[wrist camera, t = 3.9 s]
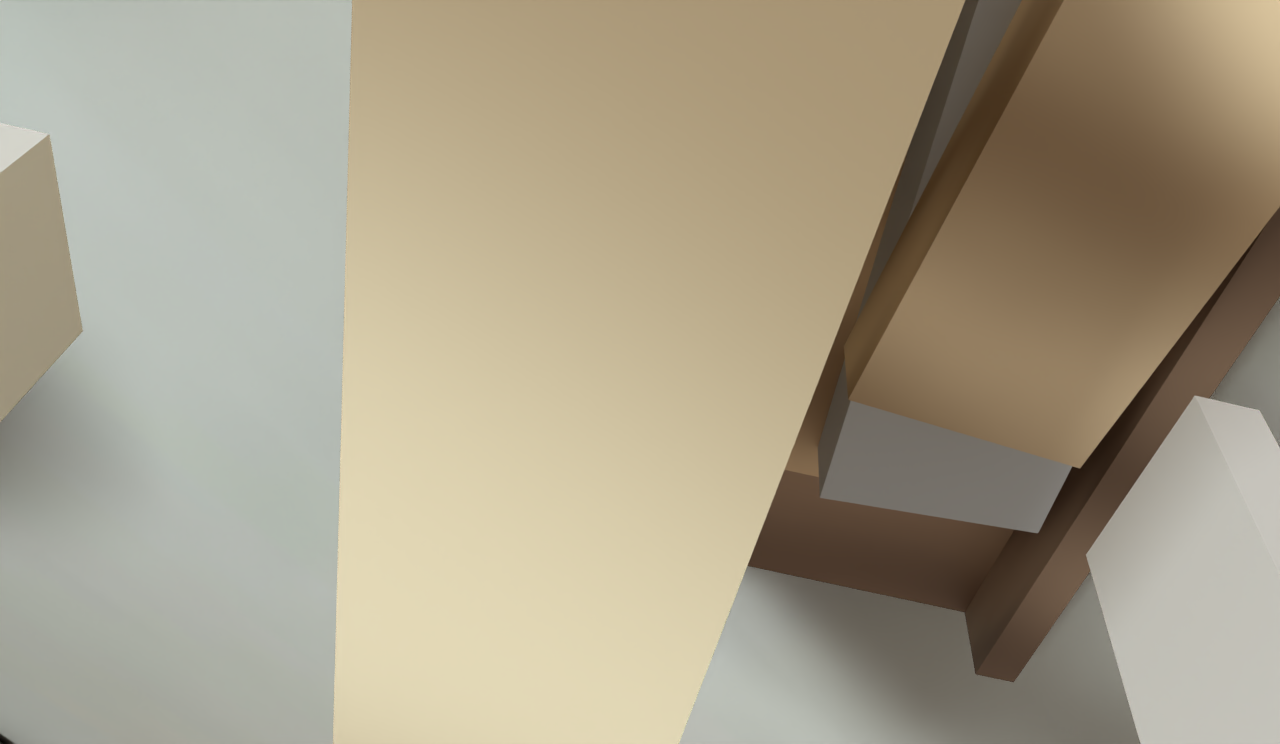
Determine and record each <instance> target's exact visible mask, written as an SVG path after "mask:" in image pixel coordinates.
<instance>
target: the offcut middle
mask: <svg viewBox="0 0 1280 744" xmlns="http://www.w3.org/2000/svg"><path fill="white" fill-rule="evenodd" d="M1021 1H1022V0H965V2H964V5H963V8H962V10H961V13H960V15H959V18H958V21H957V23H956V26H955V28H954V31H953V34H952V36H951V39H950V41H949V44H948V47H947V49H946V52H945V54H944V57H943V60H942V62H941V65H940V67H939V70H938V73H937V75H936V78H935V80H934V83H933V85H932V88H931V91H930V93H929V96H928V98H927V101H926V104H925V106H924V109H923V111H922V114H921V117H920V119H919V122H918V124H917V127H916V130H915V132H914V135H913V137H912V140H911V143H910V146H909V149H908V153H907V156H906V159H905V162H904V166H903V169H902V172H901V176H900V179H899V182H898V185H897V189H896V192H895V195H894V199H893V202H892V205H891V208H890V212H889V215H888V218H887V221H886V225H885V228H884V231H883V235H882V238H881V241H880V244H879V248H878V251H877V254H876V258H875V261H874V264H873V267H872V271H871V274H870V277H869V280H868V284H867V287H866V290H865V294H864V297H863V300H862V303H861V307H860V310H859V313H858V317H857V319H858V318H859V316H860V314H861V312H862V310H863V308H864V306H865V304H866V302H867V300H868V298H869V296H870V294H871V292H872V290H873V288H874V286H875V284H876V283H877V281H878V279H879V277H880V275H881V273H882V271H883V269H884V267H885V265H886V263H887V261H888V259H889V257H890V255H891V253H892V251H893V250H894V248H895V246H896V244H897V242H898V240H899V238H900V236H901V234H902V232H903V230H904V228H905V226H906V224H907V222H908V220H909V218H910V217H911V215H912V213H913V211H914V209H915V207H916V205H917V203H918V201H919V199H920V197H921V195H922V193H923V191H924V189H925V187H926V185H927V184H928V182H929V180H930V178H931V176H932V174H933V172H934V170H935V168H936V166H937V164H938V162H939V160H940V158H941V156H942V154H943V152H944V151H945V149H946V147H947V145H948V143H949V141H950V139H951V137H952V135H953V133H954V131H955V129H956V127H957V125H958V123H959V121H960V119H961V118H962V116H963V114H964V112H965V110H966V108H967V106H968V104H969V102H970V100H971V98H972V96H973V94H974V92H975V90H976V88H977V86H978V84H979V83H980V81H981V79H982V77H983V75H984V73H985V71H986V69H987V67H988V65H989V63H990V61H991V59H992V57H993V55H994V53H995V51H996V50H997V48H998V46H999V44H1000V42H1001V40H1002V38H1003V36H1004V34H1005V32H1006V30H1007V28H1008V26H1009V24H1010V22H1011V20H1012V18H1013V17H1014V15H1015V13H1016V11H1017V9H1018V7H1019V5H1020V3H1021ZM856 321H857V320H856ZM818 467H819V491H820V498H824V499H830V500H836V501H843V502H849V503H855V504H861V505H867V506H873V507H879V508H885V509H892V510H898V511H904V512H910V513H916V514H922V515H928V516H934V517H941V518H947V519H953V520H959V521H965V522H971V523H977V524H983V525H990V526H996V527H1002V528H1008V529H1014V530H1020V531H1026V532H1032V533H1038V532H1039V531H1040V529H1041V527H1042V525H1043V523H1044V521H1045V519H1046V517H1047V515H1048V513H1049V511H1050V509H1051V507H1052V505H1053V503H1054V501H1055V499H1056V497H1057V495H1058V493H1059V491H1060V489H1061V488H1062V486H1063V484H1064V482H1065V480H1066V478H1067V476H1068V474H1069V472H1070V470H1071V468H1072V466H1070V465H1066V464H1063V463H1060V462H1056V461H1053V460H1049V459H1046V458H1043V457H1039V456H1036V455H1033V454H1029V453H1026V452H1022V451H1019V450H1016V449H1012V448H1009V447H1006V446H1002V445H999V444H996V443H992V442H989V441H985V440H982V439H979V438H975V437H972V436H969V435H965V434H962V433H958V432H955V431H952V430H948V429H945V428H942V427H938V426H935V425H931V424H928V423H925V422H921V421H918V420H915V419H911V418H908V417H904V416H901V415H898V414H894V413H891V412H888V411H884V410H881V409H877V408H874V407H871V406H867V405H864V404H861V403H857V402H854V401H850V400H848V392H847V380H846V367H845V359H844V362H843V366H842V369H841V372H840V376H839V379H838V382H837V385H836V389H835V392H834V395H833V399H832V402H831V405H830V408H829V412H828V415H827V418H826V421H825V425H824V428H823V431H822V435H821V438H820V441H819V444H818Z"/></svg>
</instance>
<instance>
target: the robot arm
mask: <svg viewBox="0 0 1280 744" xmlns="http://www.w3.org/2000/svg"><path fill="white" fill-rule="evenodd" d="M82 331H83V330H82V324H81V318H80V312H79V307H78V301H77V295H76V289H75V283H74V277H73V271H72V265H71V259H70V253H69V247H68V242H67V236H66V230H65V224H64V218H63V212H62V206H61V200H60V194H59V188H58V183H57V177H56V171H55V165H54V159H53V153H52V147H51V141H50V135H49V134H47V133H42V132H38V131H34V130H29V129H25V128H21V127H16V126H12V125H7V124H3V123H0V422H1V421H2V420H3V418H4V417H5V416H6V415H7V414H8V413H9V412H10V411H11V410H12V409H13V407H14V406H15V405H16V404H17V403H18V402H19V401H20V400H21V399H22V398H23V396H24V395H25V394H26V393H27V392H28V391H29V390H30V389H31V388H32V386H33V385H34V384H35V383H36V382H37V381H38V380H39V379H40V378H41V377H42V375H43V374H44V373H45V372H46V371H47V370H48V369H49V368H50V367H51V366H52V364H53V363H54V362H55V361H56V360H57V359H58V358H59V357H60V356H61V354H62V353H63V352H64V351H65V350H66V349H67V348H68V347H69V346H70V345H71V343H72V342H73V341H74V340H75V339H76V338H77V337H78V336H79V335H80V334H81V332H82ZM1086 557H1087V560H1088V564H1089V567H1090V571H1091V574H1092V578H1093V581H1094V585H1095V588H1096V592H1097V595H1098V598H1099V602H1100V605H1101V609H1102V612H1103V616H1104V619H1105V623H1106V626H1107V630H1108V633H1109V637H1110V640H1111V644H1112V647H1113V650H1114V654H1115V657H1116V661H1117V664H1118V668H1119V671H1120V675H1121V678H1122V682H1123V685H1124V689H1125V692H1126V696H1127V699H1128V702H1129V706H1130V709H1131V713H1132V716H1133V720H1134V723H1135V727H1136V730H1137V734H1138V737H1139V741H1140V744H1280V447H1279V446H1278V444H1277V442H1276V440H1275V438H1274V436H1273V434H1272V433H1271V431H1270V429H1269V427H1268V425H1267V423H1266V421H1265V420H1264V418H1263V416H1262V414H1261V412H1260V410H1256V409H1252V408H1248V407H1243V406H1239V405H1234V404H1230V403H1226V402H1221V401H1217V400H1213V399H1208V398H1204V397H1199V396H1194V397H1193V399H1192V400H1191V402H1190V403H1189V405H1188V406H1187V408H1186V409H1185V411H1184V412H1183V414H1182V415H1181V416H1180V418H1179V419H1178V421H1177V422H1176V424H1175V425H1174V427H1173V428H1172V430H1171V431H1170V433H1169V434H1168V435H1167V437H1166V438H1165V440H1164V441H1163V443H1162V444H1161V446H1160V447H1159V449H1158V450H1157V452H1156V453H1155V454H1154V456H1153V457H1152V459H1151V460H1150V462H1149V463H1148V465H1147V466H1146V468H1145V469H1144V471H1143V472H1142V473H1141V475H1140V476H1139V478H1138V479H1137V481H1136V482H1135V484H1134V485H1133V487H1132V488H1131V490H1130V491H1129V493H1128V494H1127V495H1126V497H1125V498H1124V500H1123V501H1122V503H1121V504H1120V506H1119V507H1118V509H1117V510H1116V512H1115V513H1114V514H1113V516H1112V517H1111V519H1110V520H1109V522H1108V523H1107V525H1106V526H1105V528H1104V529H1103V531H1102V532H1101V533H1100V535H1099V536H1098V538H1097V539H1096V541H1095V542H1094V544H1093V545H1092V547H1091V548H1090V550H1089V551H1088V552H1087V554H1086ZM0 744H2V743H1V742H0Z"/></svg>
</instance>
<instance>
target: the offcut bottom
mask: <svg viewBox="0 0 1280 744" xmlns="http://www.w3.org/2000/svg"><path fill="white" fill-rule="evenodd" d="M909 146H910V145H909ZM908 149H909V148H908ZM907 153H908V150H907ZM907 153H906V156H907ZM906 156H905V158H904V161H903V163H902V166H901V169H900V171H899V174H898V176H897V179H896V181H895V184H894V187H893V189H892V192H891V194H890V197H889V200H888V202H887V205H886V207H885V210H884V213H883V215H882V218H881V220H880V223H879V226H878V228H877V231H876V233H875V236H874V239H873V241H872V244H871V246H870V249H869V252H868V254H867V257H866V259H865V262H864V264H863V267H862V270H861V272H860V275H859V277H858V280H857V283H856V285H855V288H854V290H853V293H852V296H851V298H850V301H849V303H848V306H847V309H846V311H845V314H844V316H843V319H842V322H841V324H840V327H839V329H838V332H837V335H836V337H835V340H834V342H833V345H832V348H831V350H830V353H829V355H828V358H827V360H826V363H825V366H824V368H823V371H822V373H821V376H820V379H819V381H818V384H817V386H816V389H815V392H814V394H813V397H812V399H811V402H810V405H809V407H808V410H807V412H806V415H805V418H804V420H803V423H802V425H801V428H800V431H799V433H798V436H797V438H796V441H795V444H794V446H793V449H792V451H791V454H790V456H789V459H788V462H787V464H786V467H785V469H784V470H788V471H793V472H797V473H802V474H806V475H811V476H816V477H819V467H818V444H819V441H820V438H821V435H822V431H823V428H824V425H825V421H826V418H827V415H828V412H829V408H830V405H831V402H832V399H833V395H834V392H835V389H836V385H837V382H838V379H839V376H840V372H841V369H842V366H843V362H844V359H845V355H844V345H845V343H846V341H847V339H848V337H849V335H850V333H851V331H852V329H853V327H854V325H855V323H856V320H857V317H858V313H859V310H860V307H861V303H862V300H863V297H864V294H865V290H866V287H867V284H868V280H869V277H870V274H871V271H872V267H873V264H874V261H875V258H876V254H877V251H878V248H879V244H880V241H881V238H882V235H883V231H884V228H885V225H886V221H887V218H888V215H889V212H890V208H891V205H892V202H893V199H894V195H895V192H896V189H897V185H898V182H899V179H900V176H901V172H902V169H903V166H904V162H905V159H906Z"/></svg>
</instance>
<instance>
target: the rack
mask: <svg viewBox="0 0 1280 744" xmlns="http://www.w3.org/2000/svg"><path fill="white" fill-rule="evenodd" d="M1279 297H1280V207H1279V208H1278V209H1277V211H1276V212H1275V213H1274V215H1273V216H1272V217H1271V219H1270V220H1269V221H1268V222H1267V224H1266V225H1265V226H1264V228H1263V229H1262V230H1261V232H1260V233H1259V234H1258V236H1257V237H1256V238H1255V240H1254V241H1253V242H1252V243H1251V245H1250V246H1249V247H1248V249H1247V250H1246V251H1245V253H1244V254H1243V255H1242V257H1241V258H1240V259H1239V261H1238V262H1237V263H1236V264H1235V266H1234V267H1233V268H1232V270H1231V271H1230V272H1229V274H1228V275H1227V276H1226V278H1225V279H1224V280H1223V282H1222V283H1221V284H1220V285H1219V287H1218V288H1217V289H1216V291H1215V292H1214V293H1213V295H1212V296H1211V297H1210V299H1209V300H1208V301H1207V303H1206V304H1205V305H1204V306H1203V308H1202V309H1201V310H1200V312H1199V313H1198V314H1197V316H1196V317H1195V318H1194V320H1193V321H1192V322H1191V324H1190V325H1189V326H1188V327H1187V329H1186V330H1185V331H1184V333H1183V334H1182V335H1181V337H1180V338H1179V339H1178V341H1177V342H1176V343H1175V345H1174V346H1173V347H1172V348H1171V350H1170V351H1169V352H1168V354H1167V355H1166V356H1165V358H1164V359H1163V360H1162V362H1161V363H1160V364H1159V366H1158V367H1157V368H1156V369H1155V371H1154V372H1153V373H1152V375H1151V376H1150V377H1149V379H1148V380H1147V381H1146V383H1145V384H1144V385H1143V387H1142V388H1141V389H1140V390H1139V392H1138V393H1137V394H1136V396H1135V397H1134V398H1133V400H1132V401H1131V402H1130V404H1129V405H1128V406H1127V408H1126V409H1125V410H1124V411H1123V413H1122V414H1121V415H1120V417H1119V418H1118V419H1117V421H1116V422H1115V423H1114V425H1113V426H1112V427H1111V429H1110V430H1109V431H1108V432H1107V434H1106V435H1105V436H1104V438H1103V439H1102V440H1101V442H1100V443H1099V444H1098V446H1097V447H1096V448H1095V450H1094V451H1093V452H1092V453H1091V455H1090V456H1089V457H1088V459H1087V460H1086V461H1085V463H1084V464H1083V465H1082V467H1081V468H1076V467H1073V466H1072V468H1071V470H1070V472H1069V474H1068V476H1067V478H1066V480H1065V482H1064V484H1063V486H1062V488H1061V489H1060V491H1059V493H1058V495H1057V497H1056V499H1055V501H1054V503H1053V505H1052V507H1051V509H1050V511H1049V513H1048V515H1047V517H1046V519H1045V521H1044V523H1043V525H1042V527H1041V529H1040V531H1039V532H1038V533H1032V532H1026V531H1020V530H1014V529H1008V528H1002V527H996V526H990V525H983V524H977V523H971V522H965V521H959V520H953V519H947V518H941V517H934V516H928V515H922V514H916V513H910V512H904V511H898V510H892V509H885V508H879V507H873V506H867V505H861V504H855V503H849V502H843V501H836V500H830V499H824V498H820V491H819V477H816V476H811V475H806V474H802V473H797V472H793V471H788V470H784V472H783V475H782V477H781V480H780V482H779V485H778V488H777V490H776V493H775V495H774V498H773V501H772V503H771V506H770V508H769V511H768V514H767V516H766V519H765V521H764V524H763V527H762V529H761V532H760V534H759V537H758V539H757V542H756V545H755V547H754V550H753V552H752V555H751V558H750V560H749V563H748V565H747V566H751V567H756V568H760V569H765V570H770V571H774V572H779V573H784V574H788V575H793V576H798V577H802V578H807V579H812V580H816V581H821V582H826V583H830V584H835V585H840V586H844V587H849V588H854V589H858V590H863V591H868V592H872V593H877V594H882V595H887V596H891V597H896V598H901V599H905V600H910V601H915V602H919V603H924V604H929V605H933V606H938V607H943V608H947V609H952V610H957V611H961V612H965V616H966V622H967V628H968V633H969V639H970V645H971V651H972V656H973V662H974V668H975V674H977V675H982V676H987V677H992V678H996V679H1001V680H1006V681H1010V682H1014V681H1015V679H1016V678H1017V677H1018V675H1019V674H1020V672H1021V671H1022V669H1023V668H1024V666H1025V665H1026V664H1027V662H1028V661H1029V659H1030V658H1031V656H1032V655H1033V653H1034V652H1035V650H1036V649H1037V648H1038V646H1039V645H1040V643H1041V642H1042V640H1043V639H1044V637H1045V636H1046V635H1047V633H1048V632H1049V630H1050V629H1051V627H1052V626H1053V624H1054V623H1055V621H1056V620H1057V619H1058V617H1059V616H1060V614H1061V613H1062V611H1063V610H1064V608H1065V607H1066V606H1067V604H1068V603H1069V601H1070V600H1071V598H1072V597H1073V595H1074V594H1075V592H1076V591H1077V590H1078V588H1079V587H1080V585H1081V584H1082V582H1083V581H1084V579H1085V578H1086V577H1087V575H1088V574H1089V572H1090V567H1089V564H1088V560H1087V557H1086V554H1087V552H1088V551H1089V550H1090V548H1091V547H1092V545H1093V544H1094V542H1095V541H1096V539H1097V538H1098V536H1099V535H1100V533H1101V532H1102V531H1103V529H1104V528H1105V526H1106V525H1107V523H1108V522H1109V520H1110V519H1111V517H1112V516H1113V514H1114V513H1115V512H1116V510H1117V509H1118V507H1119V506H1120V504H1121V503H1122V501H1123V500H1124V498H1125V497H1126V495H1127V494H1128V493H1129V491H1130V490H1131V488H1132V487H1133V485H1134V484H1135V482H1136V481H1137V479H1138V478H1139V476H1140V475H1141V473H1142V472H1143V471H1144V469H1145V468H1146V466H1147V465H1148V463H1149V462H1150V460H1151V459H1152V457H1153V456H1154V454H1155V453H1156V452H1157V450H1158V449H1159V447H1160V446H1161V444H1162V443H1163V441H1164V440H1165V438H1166V437H1167V435H1168V434H1169V433H1170V431H1171V430H1172V428H1173V427H1174V425H1175V424H1176V422H1177V421H1178V419H1179V418H1180V416H1181V415H1182V414H1183V412H1184V411H1185V409H1186V408H1187V406H1188V405H1189V403H1190V402H1191V400H1192V399H1193V397H1194V396H1199V397H1204V398H1208V399H1209V398H1210V397H1211V395H1212V394H1213V392H1214V391H1215V389H1216V388H1217V387H1218V385H1219V384H1220V382H1221V381H1222V379H1223V378H1224V376H1225V375H1226V373H1227V372H1228V371H1229V369H1230V368H1231V366H1232V365H1233V363H1234V362H1235V360H1236V359H1237V357H1238V356H1239V355H1240V353H1241V352H1242V350H1243V349H1244V347H1245V346H1246V344H1247V343H1248V342H1249V340H1250V339H1251V337H1252V336H1253V334H1254V333H1255V331H1256V330H1257V328H1258V327H1259V326H1260V324H1261V323H1262V321H1263V320H1264V318H1265V317H1266V315H1267V314H1268V313H1269V311H1270V310H1271V308H1272V307H1273V305H1274V304H1275V302H1276V301H1277V299H1278V298H1279Z"/></svg>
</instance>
